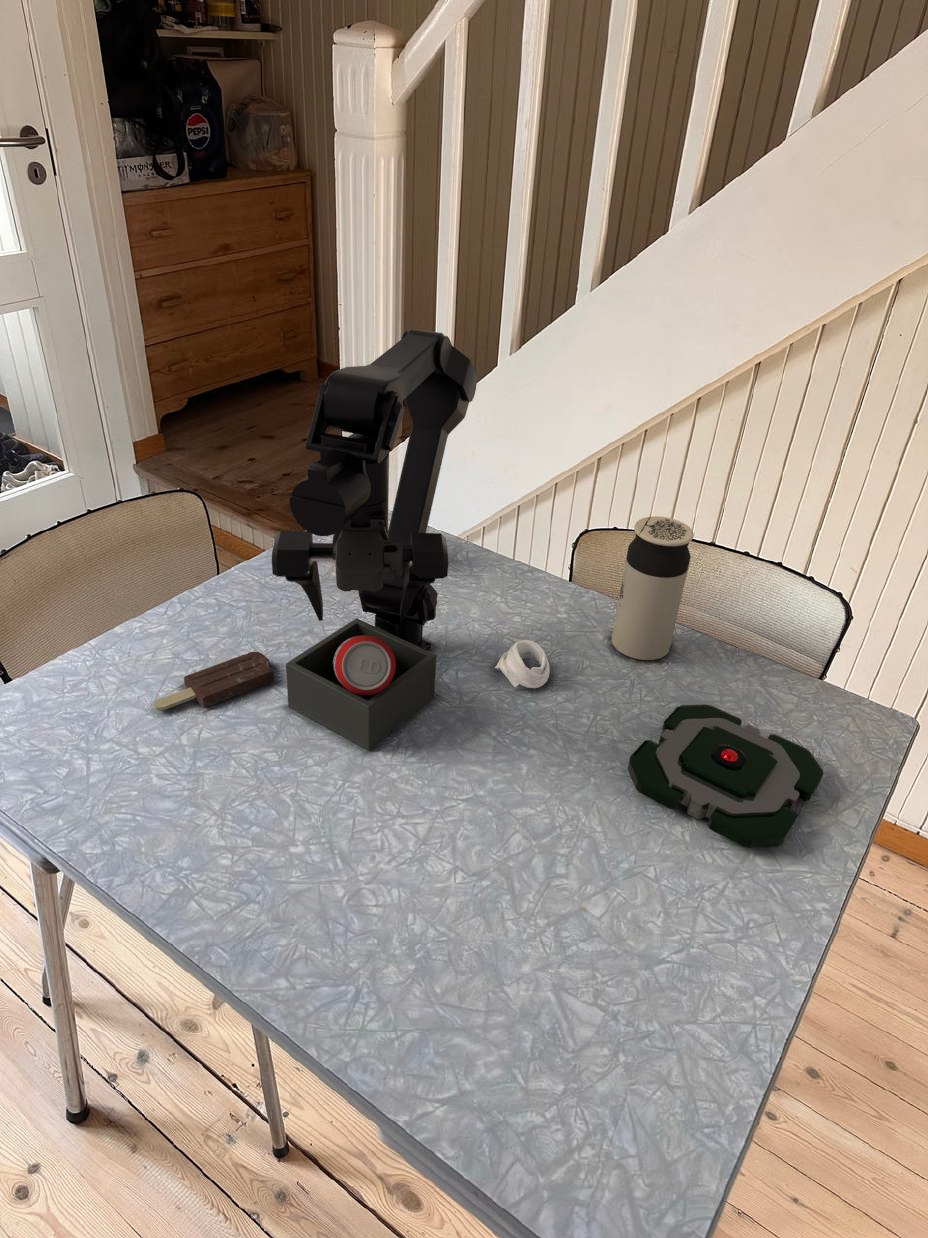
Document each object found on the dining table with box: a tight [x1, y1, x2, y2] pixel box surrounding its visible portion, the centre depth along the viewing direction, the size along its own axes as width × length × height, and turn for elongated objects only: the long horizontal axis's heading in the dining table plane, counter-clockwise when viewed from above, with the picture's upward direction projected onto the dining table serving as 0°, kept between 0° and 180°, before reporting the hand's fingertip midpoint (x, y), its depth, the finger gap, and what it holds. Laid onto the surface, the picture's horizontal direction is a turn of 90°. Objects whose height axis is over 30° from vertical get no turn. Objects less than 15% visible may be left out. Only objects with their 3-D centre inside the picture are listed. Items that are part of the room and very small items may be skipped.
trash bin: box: [285, 617, 438, 752], centre depth 104 cm, size 13×13×6 cm
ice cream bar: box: [153, 651, 275, 711], centre depth 106 cm, size 5×2×15 cm
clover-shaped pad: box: [627, 703, 824, 849], centre depth 96 cm, size 18×18×5 cm
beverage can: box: [333, 635, 396, 695], centre depth 101 cm, size 7×7×12 cm
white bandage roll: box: [492, 639, 551, 689], centre depth 111 cm, size 8×7×5 cm
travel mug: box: [611, 515, 695, 661], centre depth 115 cm, size 8×8×18 cm
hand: (361, 619), depth 99 cm, fingers open, 9 cm apart
